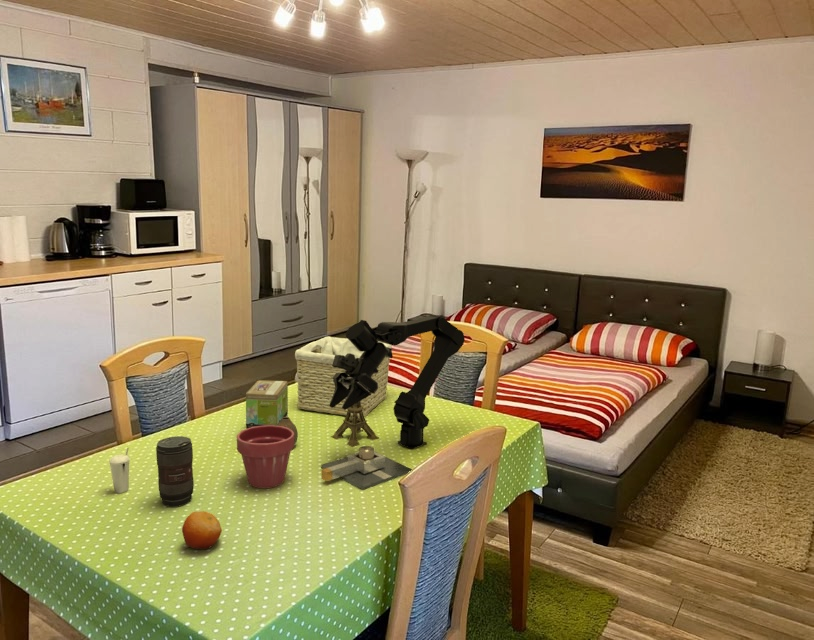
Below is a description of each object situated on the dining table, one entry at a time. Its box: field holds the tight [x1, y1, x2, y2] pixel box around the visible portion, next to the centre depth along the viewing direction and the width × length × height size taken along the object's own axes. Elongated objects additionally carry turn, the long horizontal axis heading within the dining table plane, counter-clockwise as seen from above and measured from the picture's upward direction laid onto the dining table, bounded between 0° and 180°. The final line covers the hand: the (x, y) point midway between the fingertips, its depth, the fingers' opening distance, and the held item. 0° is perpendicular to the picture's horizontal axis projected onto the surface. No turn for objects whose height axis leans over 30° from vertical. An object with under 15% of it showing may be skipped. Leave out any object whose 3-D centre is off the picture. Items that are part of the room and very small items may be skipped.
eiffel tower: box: [330, 401, 380, 448], centre depth 196 cm, size 11×11×25 cm
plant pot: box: [236, 425, 295, 489], centre depth 167 cm, size 14×14×13 cm
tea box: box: [245, 380, 289, 429], centre depth 201 cm, size 15×10×15 cm
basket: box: [294, 336, 392, 418], centre depth 228 cm, size 27×27×22 cm
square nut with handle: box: [320, 451, 386, 482], centre depth 172 cm, size 17×7×3 cm, turn 132°
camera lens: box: [155, 435, 195, 508], centre depth 155 cm, size 8×8×15 cm
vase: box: [277, 416, 299, 446], centre depth 190 cm, size 7×7×9 cm
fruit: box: [181, 510, 223, 551], centre depth 136 cm, size 8×8×8 cm
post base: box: [320, 445, 413, 491], centre depth 175 cm, size 17×18×6 cm
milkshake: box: [109, 447, 130, 494], centre depth 160 cm, size 4×5×10 cm
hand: (336, 407), depth 173 cm, fingers open, 9 cm apart
